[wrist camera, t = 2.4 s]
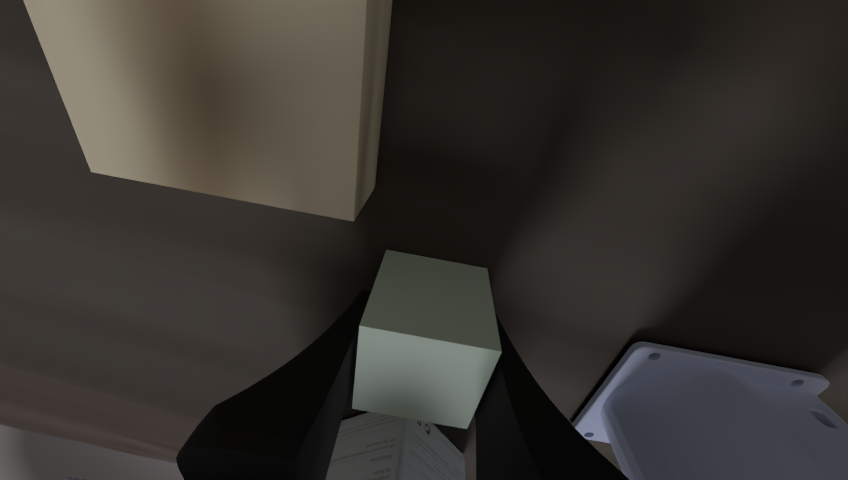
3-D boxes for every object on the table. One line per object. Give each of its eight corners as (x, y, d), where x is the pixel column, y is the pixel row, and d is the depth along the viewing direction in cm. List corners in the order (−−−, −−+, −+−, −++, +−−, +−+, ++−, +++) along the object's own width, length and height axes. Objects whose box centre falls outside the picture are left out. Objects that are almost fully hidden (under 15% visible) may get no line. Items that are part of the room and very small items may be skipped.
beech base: (401, -102, 8) (377, -183, 5) (375, 187, 12) (353, 221, 9) (92, -166, 8) (-90, -283, 5) (170, 148, 12) (91, 171, 9)
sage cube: (487, 268, 13) (501, 351, 9) (463, 338, 16) (467, 428, 12) (386, 249, 13) (359, 325, 9) (377, 322, 16) (351, 408, 12)
